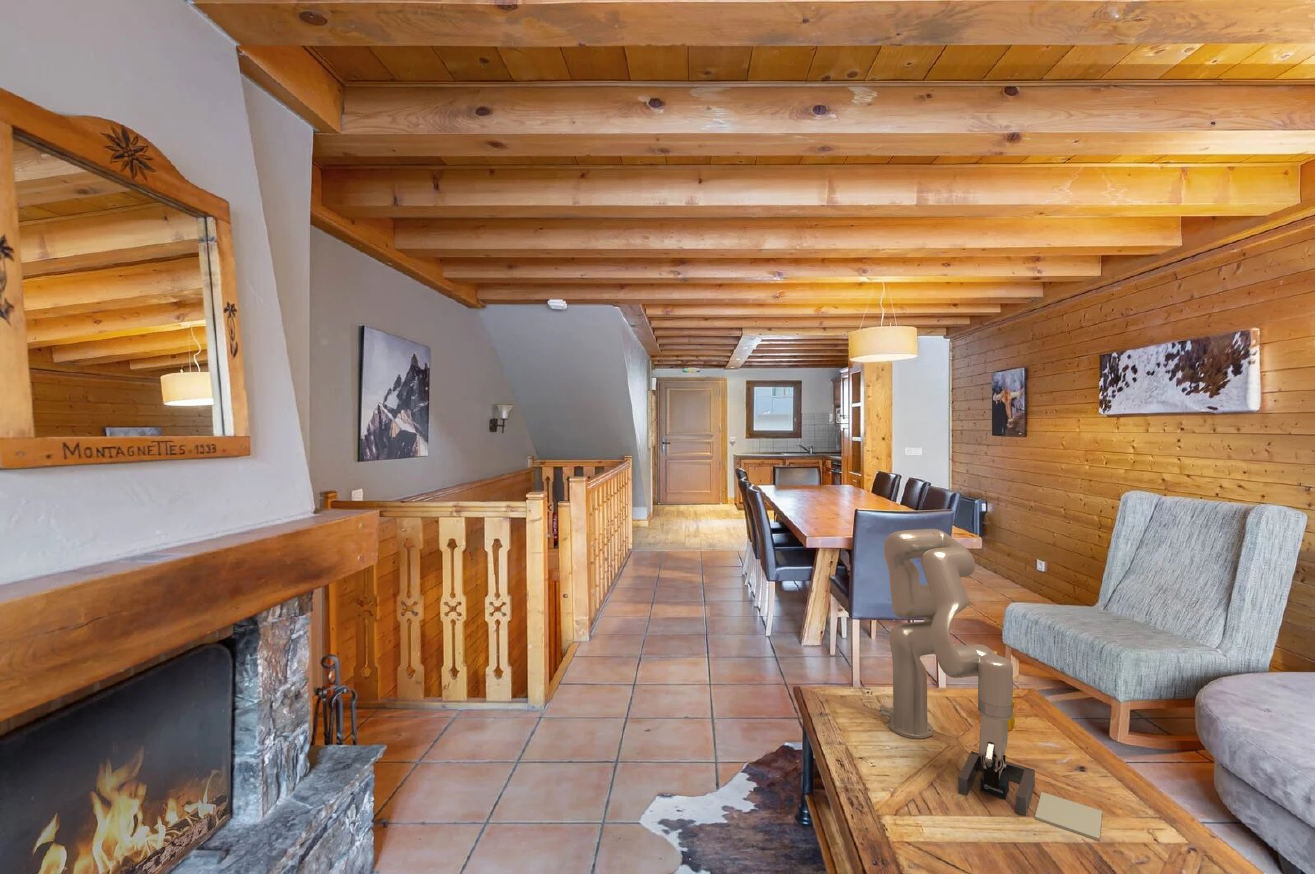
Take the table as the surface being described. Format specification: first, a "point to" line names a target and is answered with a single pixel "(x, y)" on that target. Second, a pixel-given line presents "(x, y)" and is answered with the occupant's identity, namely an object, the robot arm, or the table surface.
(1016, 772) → the u-shaped metal bracket
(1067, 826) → the sage mat
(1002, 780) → the watch
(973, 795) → the table surface
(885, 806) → the table surface
